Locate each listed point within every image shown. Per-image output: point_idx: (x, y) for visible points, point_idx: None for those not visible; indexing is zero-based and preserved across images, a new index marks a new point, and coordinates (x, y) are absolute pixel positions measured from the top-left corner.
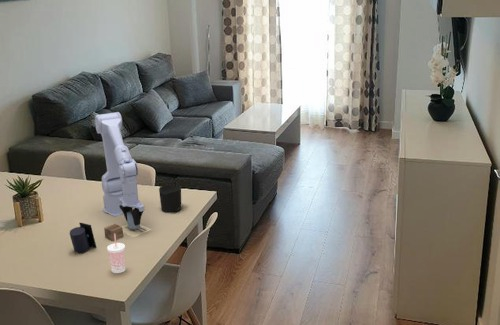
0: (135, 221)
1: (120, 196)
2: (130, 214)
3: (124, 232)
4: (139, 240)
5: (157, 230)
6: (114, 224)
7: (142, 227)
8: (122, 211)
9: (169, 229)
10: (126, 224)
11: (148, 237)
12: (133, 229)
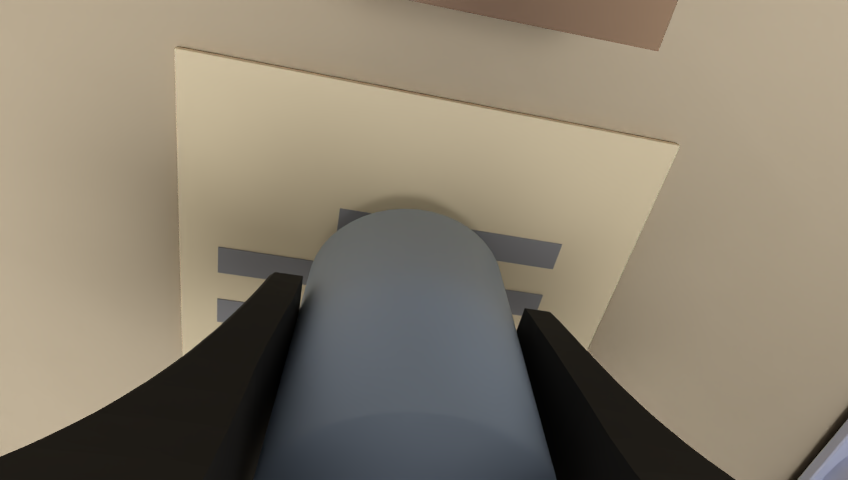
0: (229, 324)
1: None
2: (387, 443)
3: (455, 113)
4: (7, 22)
5: (122, 376)
6: (640, 4)
7: None
8: (699, 459)
9: None
10: (602, 311)
11: (8, 181)
12: None
